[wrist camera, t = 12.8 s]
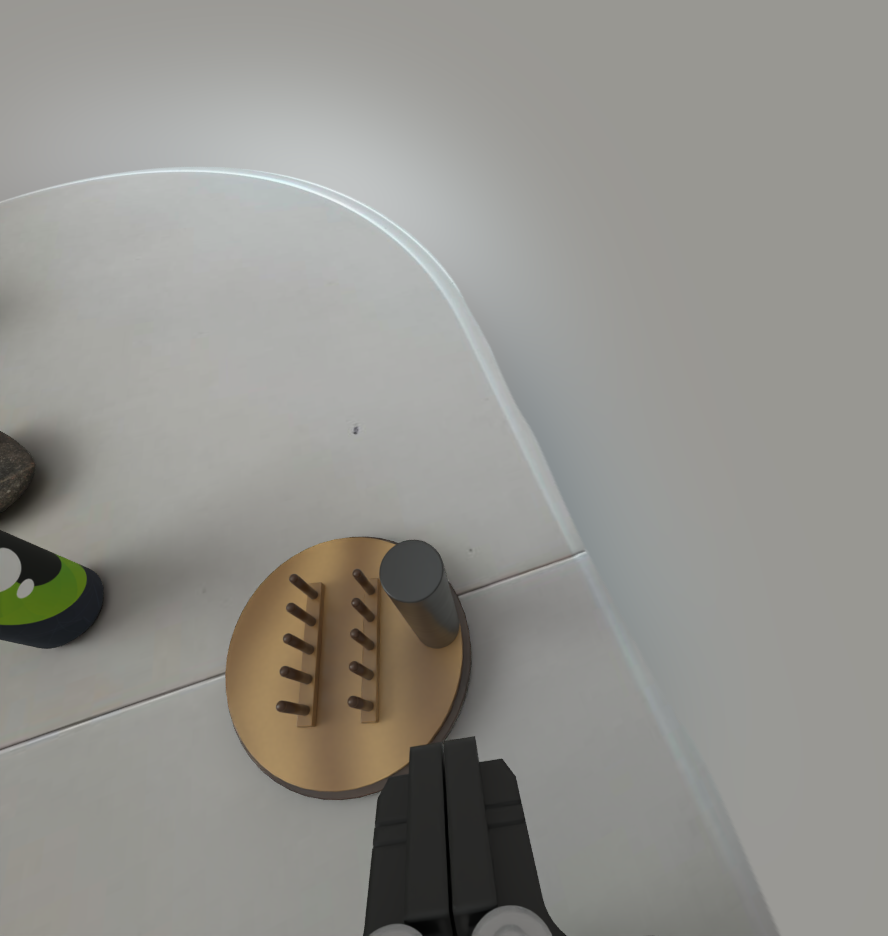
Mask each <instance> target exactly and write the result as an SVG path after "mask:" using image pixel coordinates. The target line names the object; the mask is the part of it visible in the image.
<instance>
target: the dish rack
mask: <svg viewBox="0 0 888 936" xmlns="http://www.w3.org/2000/svg"><path fill="white" fill-rule="evenodd" d="M462 665H463V640H462V632H461V626H460V623H459V618H458V615H457V611H456V608H455V604H454V601H453V597H452V593H451V590H450V586H449V583H448V579H447V576H446V572H445V569H444V565H443V562H442V559H441V556H440V555H439V553H438V552H437V550H436V549H435V548H434V547H432V546H431V545H430V544H428V543H426V542H423V541H419V540H407V541H403V542H401V543H398V544H396V545H395V544H393V543H390V542H387V541H383V540H379V539H373V538H364V537H352V538H342V539H335V540H331V541H327V542H323V543H320V544H318V545H315V546H313V547H310V548H308V549H306V550H304V551H302V552H300V553H298V554H296V555H294V556H293V557H292V558H290V559H289V560H287V561H286V562H284V563H283V564H282V565H280V566H279V567H278V568H277V569H276V570H275V571H273V572H272V573H271V574H270V575H269V576H268V577H267V578H266V579H265V580H264V581H263V583H262V584H261V585H260V586H259V587H258V589H257V590H256V591H255V593H254V594H253V595H252V597H251V598H250V600H249V601H248V603H247V605H246V606H245V608H244V610H243V611H242V613H241V615H240V618H239V620H238V622H237V624H236V626H235V629H234V632H233V635H232V638H231V641H230V646H229V651H228V655H227V663H226V674H225V677H226V695H227V701H228V707H229V711H230V714H231V717H232V721H233V724H234V726H235V728H236V730H237V732H238V735H239V737H240V739H241V740H242V742H243V743H244V745H245V746H246V748H247V749H248V751H249V752H250V753H251V755H252V756H253V757H254V758H255V759H256V760H257V761H258V762H259V764H261V765H262V766H263V767H264V768H265V769H267V770H268V771H269V772H270V773H272V774H273V775H275V776H277V777H278V778H280V779H282V780H284V781H285V782H287V783H290V784H293V785H295V786H298V787H301V788H304V789H309V790H315V791H324V792H339V791H346V790H354V789H357V788H361V787H364V786H368V785H371V784H374V783H377V782H379V781H381V780H383V779H385V778H387V777H390V776H392V775H393V774H395V773H396V772H398V771H399V770H401V769H402V768H404V767H406V766H407V765H408V764H409V752H410V747H413V746H419V745H426V744H430V743H431V742H432V740H433V739H434V737H435V736H436V734H437V733H438V732H439V730H440V729H441V727H442V726H443V724H444V722H445V720H446V718H447V716H448V714H449V713H450V711H451V708H452V706H453V703H454V700H455V698H456V695H457V692H458V687H459V683H460V679H461V673H462Z"/></svg>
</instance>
